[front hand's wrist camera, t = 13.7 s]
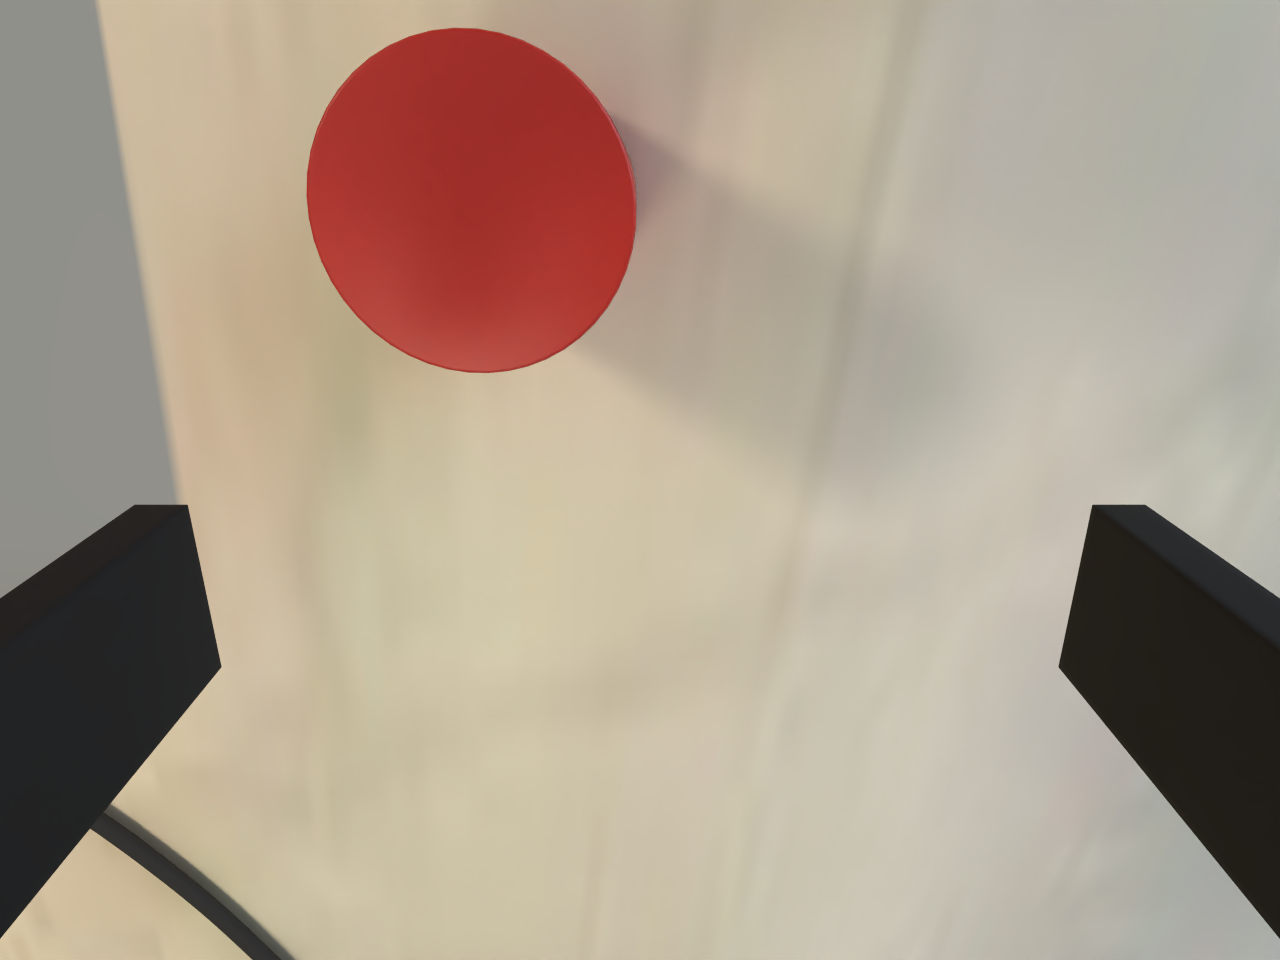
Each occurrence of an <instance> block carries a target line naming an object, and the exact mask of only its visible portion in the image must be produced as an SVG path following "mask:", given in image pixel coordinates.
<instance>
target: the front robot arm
mask: <svg viewBox="0 0 1280 960" xmlns="http://www.w3.org/2000/svg"><path fill="white" fill-rule="evenodd" d="M220 668H221V662H220V658H219V653H218V648H217V643H216V639H215V634H214V629H213V624H212V619H211V615H210V610H209V605H208V600H207V595H206V591H205V586H204V581H203V576H202V571H201V567H200V562H199V557H198V552H197V548H196V543H195V538H194V533H193V528H192V524H191V519H190V514H189V509H188V505H134V506H132V507H131V508H129V509H128V510H127V511H125V512H124V513H122V514H121V515H119V516H118V517H117V518H115V519H114V520H112V521H111V522H109V523H108V524H107V525H105V526H104V527H102V528H101V529H99V530H98V531H96V532H95V533H94V534H92V535H91V536H89V537H88V538H86V539H85V540H84V541H82V542H81V543H79V544H78V545H76V546H75V547H74V548H72V549H71V550H69V551H68V552H66V553H65V554H64V555H62V556H61V557H59V558H58V559H56V560H55V561H53V562H52V563H50V564H49V565H48V566H46V567H45V568H43V569H42V570H40V571H39V572H38V573H36V574H35V575H33V576H32V577H30V578H29V579H28V580H26V581H25V582H23V583H22V584H20V585H19V586H17V587H16V588H15V589H13V590H12V591H10V592H9V593H7V594H6V595H5V596H3V597H2V598H0V938H1V937H2V936H3V935H4V933H5V932H6V931H7V930H8V928H9V927H10V926H11V925H12V924H13V922H14V921H15V920H16V919H17V917H18V916H19V915H20V914H21V912H22V911H23V910H24V909H25V908H26V906H27V905H28V904H29V903H30V901H31V900H32V899H33V898H34V897H35V895H36V894H37V893H38V892H39V890H40V889H41V888H42V887H43V885H44V884H45V883H46V882H47V881H48V879H49V878H50V877H51V876H52V874H53V873H54V872H55V871H56V869H57V868H58V867H59V866H60V865H61V863H62V862H63V861H64V860H65V858H66V857H67V856H68V855H69V854H70V852H71V851H72V850H73V849H74V847H75V846H76V845H77V844H78V842H79V841H80V840H81V839H82V838H83V836H84V835H85V834H86V833H87V831H88V830H89V829H92V830H93V831H95V832H96V833H97V834H99V835H100V836H102V837H103V838H105V839H106V840H107V841H109V842H110V843H112V844H113V845H114V846H116V847H117V848H119V849H120V850H121V851H123V852H124V853H125V854H127V855H128V856H130V857H131V858H132V859H134V860H135V861H136V862H138V863H139V864H140V865H142V866H143V867H144V868H145V869H147V870H148V871H149V872H151V873H152V874H153V875H155V876H156V877H157V878H159V879H160V880H161V881H162V882H164V883H165V884H166V885H168V886H169V887H170V888H171V889H173V890H174V891H175V892H176V893H178V894H179V895H180V896H181V897H183V898H184V899H185V900H186V901H187V902H189V903H190V904H191V905H192V906H193V907H195V908H196V909H197V910H198V911H199V912H201V913H202V914H203V915H204V916H205V917H206V918H208V919H209V920H210V921H211V922H212V923H213V924H214V925H215V926H217V927H218V928H219V929H220V930H221V931H222V932H223V933H224V934H225V935H227V936H228V937H229V938H230V939H231V940H232V941H233V942H234V943H235V944H236V945H237V946H238V947H240V948H241V949H242V950H243V951H244V952H245V953H246V954H247V955H248V956H249V957H250V958H251V959H252V960H281V959H280V958H279V957H278V956H277V955H276V954H275V953H274V952H273V951H272V950H271V949H270V948H269V947H267V946H266V945H265V944H264V943H263V942H262V941H261V940H260V939H259V938H258V937H257V936H256V935H255V934H254V933H253V932H252V931H251V930H250V929H249V928H248V927H247V926H245V925H244V924H243V923H242V922H241V921H240V920H239V919H238V918H237V917H236V916H235V915H234V914H232V913H231V912H230V911H229V910H228V909H227V908H226V907H225V906H224V905H222V904H221V903H220V902H219V901H218V900H217V899H216V898H214V897H213V896H212V895H211V894H210V893H209V892H207V891H206V890H205V889H204V888H203V887H201V886H200V885H199V884H198V883H197V882H195V881H194V880H193V879H192V878H190V877H189V876H188V875H187V874H185V873H184V872H183V871H182V870H181V869H179V868H178V867H177V866H175V865H174V864H173V863H172V862H170V861H169V860H168V859H166V858H165V857H164V856H163V855H161V854H160V853H159V852H157V851H156V850H155V849H154V848H152V847H151V846H150V845H148V844H147V843H146V842H144V841H143V840H142V839H140V838H139V837H138V836H136V835H135V834H134V833H132V832H131V831H129V830H128V829H127V828H125V827H124V826H123V825H121V824H120V823H118V822H117V821H116V820H114V819H113V818H111V817H110V816H108V815H107V814H106V813H104V811H105V809H106V808H107V807H108V806H109V804H110V803H111V802H112V801H113V800H114V798H115V797H116V796H117V795H118V793H119V792H120V791H121V790H122V788H123V787H124V786H125V785H126V784H127V782H128V781H129V780H130V779H131V777H132V776H133V775H134V774H135V773H136V771H137V770H138V769H139V768H140V766H141V765H142V764H143V763H144V761H145V760H146V759H147V758H148V757H149V755H150V754H151V753H152V752H153V750H154V749H155V748H156V747H157V746H158V744H159V743H160V742H161V741H162V739H163V738H164V737H165V736H166V734H167V733H168V732H169V731H170V730H171V728H172V727H173V726H174V725H175V723H176V722H177V721H178V720H179V718H180V717H181V716H182V715H183V714H184V712H185V711H186V710H187V709H188V707H189V706H190V705H191V704H192V703H193V701H194V700H195V699H196V698H197V696H198V695H199V694H200V693H201V691H202V690H203V689H204V688H205V687H206V685H207V684H208V683H209V682H210V680H211V679H212V678H213V677H214V676H215V674H216V673H217V672H218V671H219V669H220ZM1059 668H1060V669H1061V671H1062V672H1063V673H1064V674H1065V676H1066V677H1067V678H1068V679H1069V680H1070V682H1071V683H1072V684H1073V685H1074V687H1075V688H1076V689H1077V690H1078V691H1079V693H1080V694H1081V695H1082V696H1083V698H1084V699H1085V700H1086V701H1087V703H1088V704H1089V705H1090V706H1091V707H1092V709H1093V710H1094V711H1095V712H1096V714H1097V715H1098V716H1099V717H1100V718H1101V720H1102V721H1103V722H1104V723H1105V725H1106V726H1107V727H1108V728H1109V730H1110V731H1111V732H1112V733H1113V734H1114V736H1115V737H1116V738H1117V739H1118V741H1119V742H1120V743H1121V744H1122V746H1123V747H1124V748H1125V749H1126V750H1127V752H1128V753H1129V754H1130V755H1131V757H1132V758H1133V759H1134V760H1135V761H1136V763H1137V764H1138V765H1139V766H1140V768H1141V769H1142V770H1143V771H1144V773H1145V774H1146V775H1147V776H1148V777H1149V779H1150V780H1151V781H1152V782H1153V784H1154V785H1155V786H1156V787H1157V788H1158V790H1159V791H1160V792H1161V793H1162V795H1163V796H1164V797H1165V798H1166V800H1167V801H1168V802H1169V803H1170V804H1171V806H1172V807H1173V808H1174V809H1175V811H1176V812H1177V813H1178V814H1179V815H1180V817H1181V818H1182V819H1183V820H1184V822H1185V823H1186V824H1187V825H1188V827H1189V828H1190V829H1191V830H1192V831H1193V833H1194V834H1195V835H1196V836H1197V838H1198V839H1199V840H1200V841H1201V842H1202V844H1203V845H1204V846H1205V847H1206V849H1207V850H1208V851H1209V852H1210V854H1211V855H1212V856H1213V857H1214V858H1215V860H1216V861H1217V862H1218V863H1219V865H1220V866H1221V867H1222V868H1223V870H1224V871H1225V872H1226V873H1227V874H1228V876H1229V877H1230V878H1231V879H1232V881H1233V882H1234V883H1235V884H1236V885H1237V887H1238V888H1239V889H1240V890H1241V892H1242V893H1243V894H1244V895H1245V897H1246V898H1247V899H1248V900H1249V901H1250V903H1251V904H1252V905H1253V906H1254V908H1255V909H1256V910H1257V911H1258V912H1259V914H1260V915H1261V916H1262V917H1263V919H1264V920H1265V921H1266V922H1267V924H1268V925H1269V926H1270V927H1271V928H1272V930H1273V931H1274V932H1275V933H1276V935H1277V936H1278V937H1279V938H1280V598H1278V597H1277V596H1275V595H1274V594H1273V593H1271V592H1270V591H1268V590H1267V589H1265V588H1264V587H1263V586H1261V585H1260V584H1258V583H1257V582H1255V581H1254V580H1253V579H1251V578H1250V577H1248V576H1247V575H1245V574H1244V573H1242V572H1241V571H1240V570H1238V569H1237V568H1235V567H1234V566H1232V565H1231V564H1230V563H1228V562H1227V561H1225V560H1224V559H1222V558H1221V557H1219V556H1218V555H1217V554H1215V553H1214V552H1212V551H1211V550H1209V549H1208V548H1207V547H1205V546H1204V545H1202V544H1201V543H1199V542H1198V541H1196V540H1195V539H1194V538H1192V537H1191V536H1189V535H1188V534H1186V533H1185V532H1184V531H1182V530H1181V529H1179V528H1178V527H1176V526H1175V525H1173V524H1172V523H1171V522H1169V521H1168V520H1166V519H1165V518H1163V517H1162V516H1161V515H1159V514H1158V513H1156V512H1155V511H1153V510H1152V509H1151V508H1149V507H1148V506H1146V505H1092V509H1091V514H1090V519H1089V524H1088V528H1087V533H1086V538H1085V543H1084V548H1083V552H1082V557H1081V562H1080V567H1079V571H1078V576H1077V581H1076V586H1075V591H1074V595H1073V600H1072V605H1071V610H1070V615H1069V619H1068V624H1067V629H1066V634H1065V639H1064V643H1063V648H1062V653H1061V658H1060V662H1059Z"/></svg>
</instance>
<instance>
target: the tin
mask: <svg viewBox="0 0 1280 960" xmlns="http://www.w3.org/2000/svg"><path fill="white" fill-rule="evenodd" d="M307 204H308V214H309V221H310V225H311V229H312V234H313V238H314V242H315V245H316V247H317V250H318V253H319V256H320V259H321V261H322V263H323V265H324V267H325V269H326V272H327V274H328V276H329V278H330V280H331V282H332V283H333V285H334V286H335V288H336V289H337V291H338V292H339V294H340V295H341V297H342V298H343V300H344V301H345V302H346V304H347V305H348V306H349V307H350V308H351V310H352V311H353V312H354V313H355V314H356V316H357V317H358V318H359V319H360V320H361V321H362V322H363V323H365V324H366V325H367V326H368V327H369V328H370V329H371V330H372V331H373V332H374V333H375V334H377V335H378V336H379V337H381V338H382V339H384V340H385V341H386V342H388V343H389V344H390V345H392V346H394V347H395V348H397V349H399V350H400V351H402V352H404V353H406V354H407V355H409V356H412V357H414V358H416V359H419V360H421V361H423V362H426V363H428V364H431V365H435V366H438V367H442V368H445V369H449V370H456V371H462V372H470V373H493V372H503V371H510V370H515V369H519V368H523V367H527V366H530V365H533V364H535V363H538V362H541V361H543V360H546V359H548V358H550V357H551V356H553V355H555V354H557V353H559V352H561V351H562V350H564V349H566V348H567V347H568V346H570V345H571V344H572V343H574V342H575V341H576V340H578V339H579V338H580V337H581V336H583V335H584V334H585V333H586V332H587V331H588V330H589V329H590V328H591V327H592V326H593V325H594V324H595V323H596V321H597V320H598V319H599V318H600V316H601V315H602V314H603V313H604V311H605V310H606V309H607V308H608V306H609V304H610V303H611V301H612V299H613V298H614V296H615V294H616V293H617V291H618V289H619V287H620V284H621V282H622V280H623V277H624V275H625V273H626V270H627V267H628V263H629V260H630V256H631V253H632V249H633V243H634V236H635V230H636V188H635V178H634V174H633V169H632V165H631V161H630V159H629V156H628V153H627V150H626V148H625V146H624V144H623V141H622V139H621V137H620V135H619V133H618V131H617V129H616V127H615V125H614V123H613V121H612V120H611V118H610V116H609V115H608V113H607V112H606V110H605V109H604V107H603V106H602V104H601V103H600V101H599V100H598V98H597V97H596V96H595V95H594V94H593V92H592V91H591V90H590V89H589V88H588V87H587V86H586V84H585V83H584V82H583V81H582V80H581V79H580V78H579V77H578V76H577V75H575V74H574V73H573V72H572V71H571V70H570V69H569V68H568V67H566V66H565V65H564V64H563V63H561V62H560V61H558V60H557V59H555V58H554V57H552V56H551V55H549V54H548V53H546V52H545V51H543V50H541V49H539V48H537V47H535V46H533V45H531V44H529V43H527V42H525V41H523V40H520V39H517V38H514V37H511V36H508V35H505V34H502V33H499V32H493V31H488V30H482V29H474V28H448V29H440V30H431V31H427V32H424V33H420V34H416V35H413V36H409V37H407V38H405V39H402V40H400V41H398V42H396V43H393V44H391V45H389V46H387V47H386V48H384V49H382V50H381V51H379V52H378V53H376V54H375V55H373V56H371V57H370V58H369V59H368V60H366V61H365V62H364V63H363V64H362V65H361V66H359V67H358V68H357V69H356V70H355V71H354V72H353V73H352V74H351V75H350V76H349V77H348V79H347V80H346V81H345V82H344V83H343V84H342V86H341V87H340V88H339V89H338V91H337V92H336V94H335V95H334V97H333V98H332V100H331V102H330V103H329V105H328V106H327V108H326V110H325V112H324V115H323V117H322V119H321V121H320V123H319V126H318V128H317V131H316V134H315V138H314V141H313V144H312V148H311V152H310V158H309V165H308V171H307Z"/></svg>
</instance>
